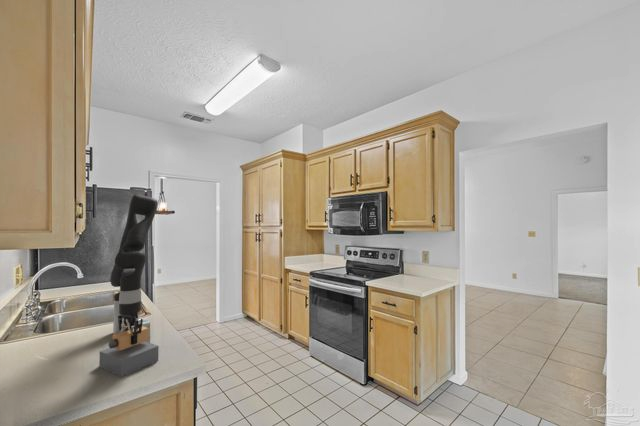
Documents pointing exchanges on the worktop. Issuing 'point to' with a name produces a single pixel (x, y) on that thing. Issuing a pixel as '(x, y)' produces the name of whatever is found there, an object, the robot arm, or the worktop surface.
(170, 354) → the worktop surface
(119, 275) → the robot arm
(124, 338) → the block
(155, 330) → the worktop surface
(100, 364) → the stand
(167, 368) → the worktop surface
